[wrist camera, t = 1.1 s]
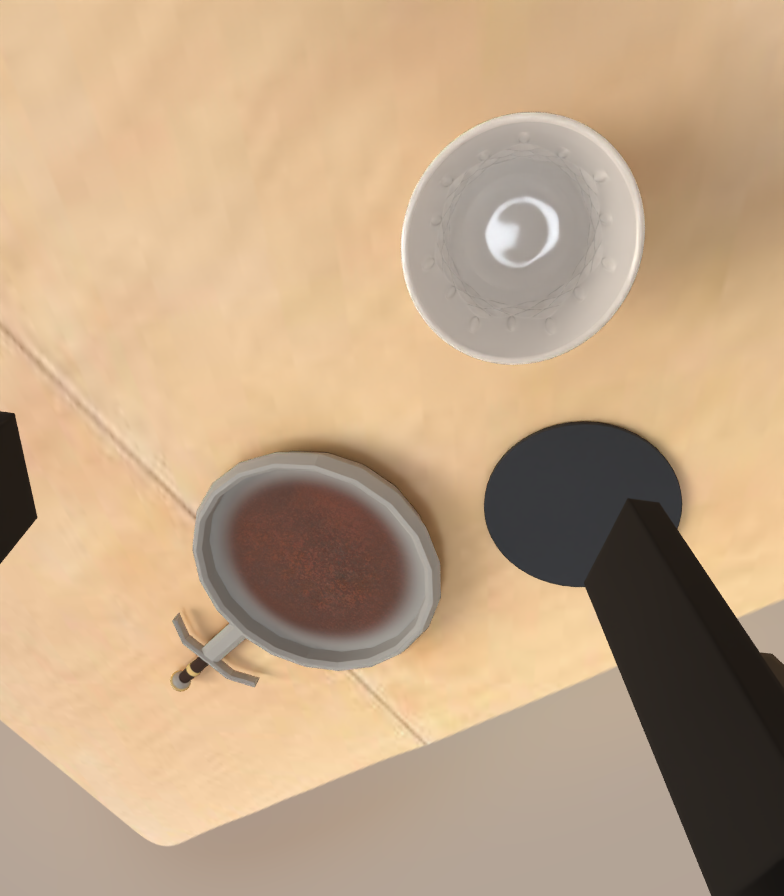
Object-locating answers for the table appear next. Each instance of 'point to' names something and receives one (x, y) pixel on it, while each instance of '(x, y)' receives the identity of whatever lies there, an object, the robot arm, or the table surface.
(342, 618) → the frying pan
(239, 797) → the table surface
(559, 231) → the white cup
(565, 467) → the coaster
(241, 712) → the table surface
